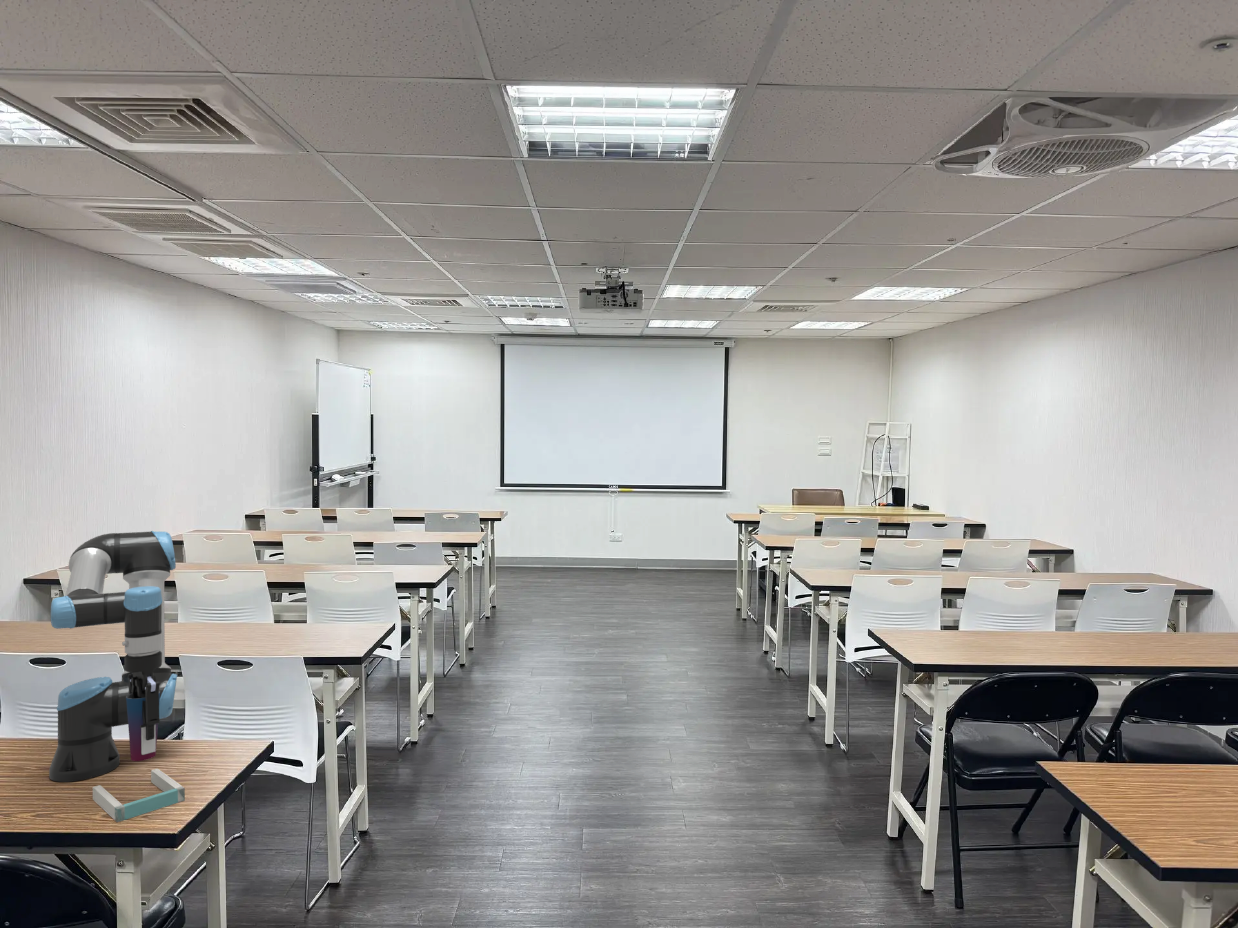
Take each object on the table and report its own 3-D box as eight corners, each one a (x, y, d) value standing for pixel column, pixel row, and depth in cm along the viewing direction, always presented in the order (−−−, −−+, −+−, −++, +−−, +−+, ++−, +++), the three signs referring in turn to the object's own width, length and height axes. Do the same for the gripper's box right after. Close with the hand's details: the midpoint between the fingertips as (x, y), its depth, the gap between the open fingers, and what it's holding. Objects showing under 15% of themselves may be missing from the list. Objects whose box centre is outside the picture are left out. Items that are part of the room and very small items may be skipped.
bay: (92, 799, 176) (92, 786, 176) (157, 779, 187) (157, 768, 187) (117, 822, 165) (117, 808, 165) (184, 800, 176) (184, 787, 176)
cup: (143, 763, 170) (143, 699, 170) (119, 761, 171) (118, 697, 171) (167, 752, 176) (167, 690, 176) (143, 750, 178) (143, 689, 178)
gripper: (112, 649, 177) (112, 744, 177) (139, 662, 165) (139, 764, 165) (147, 643, 183) (147, 735, 183) (175, 655, 171) (176, 754, 171)
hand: (143, 748), depth 174 cm, fingers closed on cup, 6 cm apart
